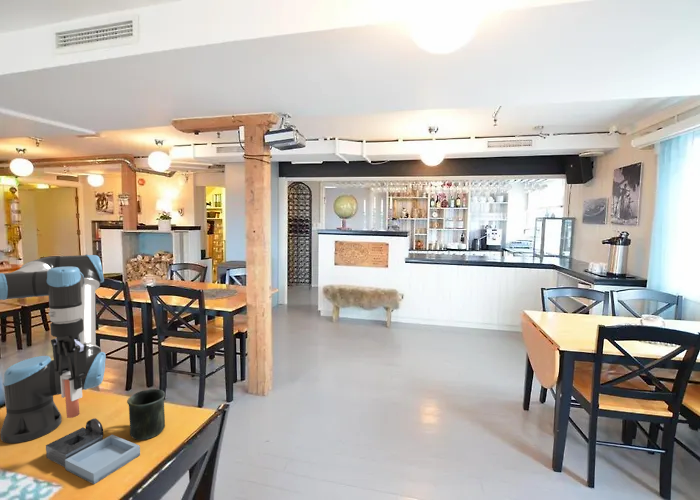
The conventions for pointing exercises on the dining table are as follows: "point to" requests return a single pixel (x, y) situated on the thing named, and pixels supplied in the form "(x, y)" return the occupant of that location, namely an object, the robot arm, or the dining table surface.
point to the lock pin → (71, 406)
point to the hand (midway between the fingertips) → (72, 396)
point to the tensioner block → (75, 442)
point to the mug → (146, 414)
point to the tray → (102, 458)
